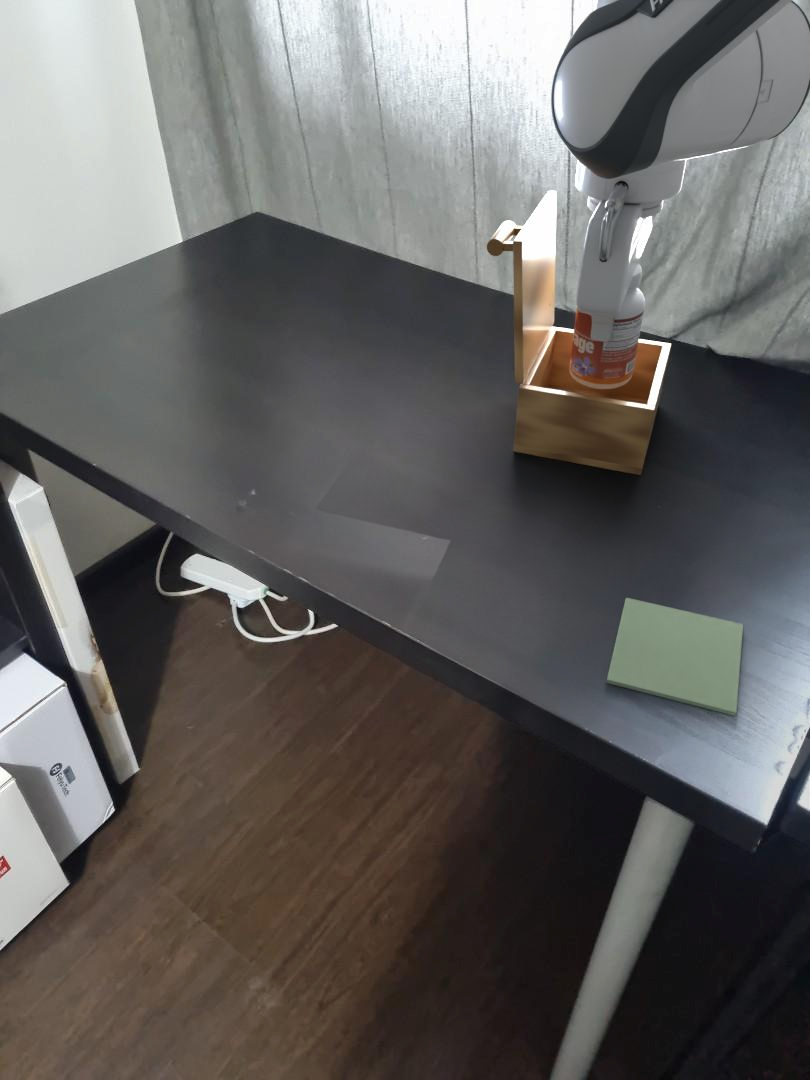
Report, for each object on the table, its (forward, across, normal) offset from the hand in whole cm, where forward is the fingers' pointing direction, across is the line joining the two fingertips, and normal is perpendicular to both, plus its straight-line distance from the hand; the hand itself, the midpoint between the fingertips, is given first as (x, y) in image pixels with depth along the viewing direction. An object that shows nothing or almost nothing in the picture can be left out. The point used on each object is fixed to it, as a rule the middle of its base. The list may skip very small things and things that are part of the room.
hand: (608, 320), depth 78 cm
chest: (+12, 0, 0) cm, 12 cm away
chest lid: (-3, 0, +7) cm, 7 cm away
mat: (+12, -29, -12) cm, 34 cm away
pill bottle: (+6, 0, 0) cm, 6 cm away
